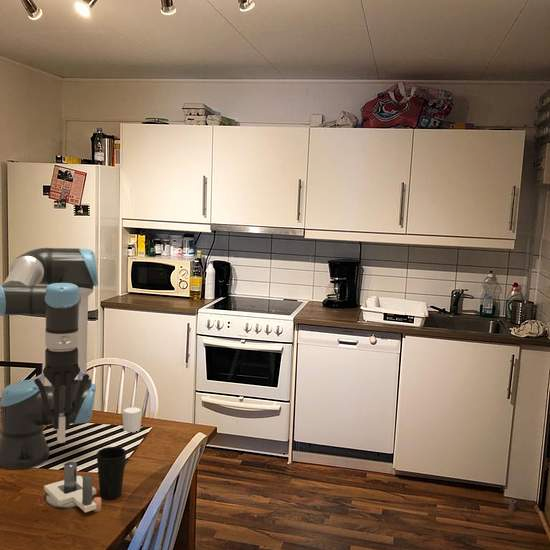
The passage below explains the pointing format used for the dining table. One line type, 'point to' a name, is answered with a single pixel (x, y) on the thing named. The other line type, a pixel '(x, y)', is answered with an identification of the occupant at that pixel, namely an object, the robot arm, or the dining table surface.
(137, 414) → the white cylinder
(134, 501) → the dining table surface
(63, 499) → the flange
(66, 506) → the base
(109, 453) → the cup
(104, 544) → the dining table surface
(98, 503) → the dowel
